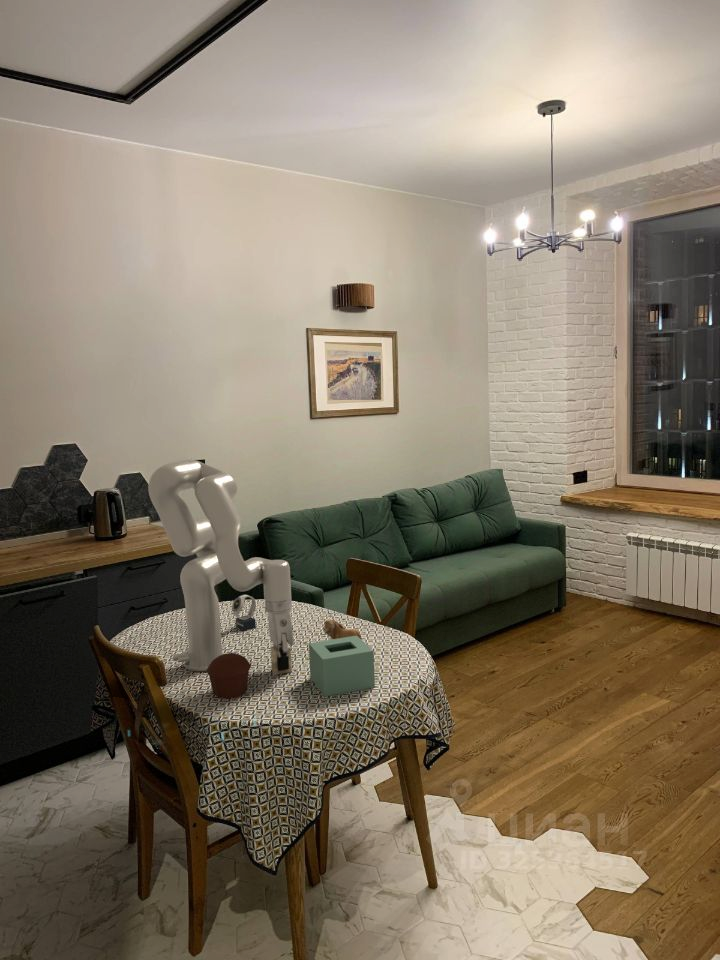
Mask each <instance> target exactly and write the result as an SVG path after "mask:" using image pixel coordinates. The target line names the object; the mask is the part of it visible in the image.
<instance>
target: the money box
mask: <svg viewBox="0 0 720 960" xmlns="http://www.w3.org/2000/svg"><path fill="white" fill-rule="evenodd" d="M374 652H375V651H374V649H372V648H371V647H370V646H369V645H368V644H367V643H366V642H365V641H363V639H362V640H361V639H360V638H359V637H358V636H351V637H345V638H339V639H327V640H322V641H321V640H320V641H315V642H310V643H308V654H309V658H308V659H309V675H310V679H311V681H312V682H313V684H314V685H315V686H316V688H317V689H318V690H319V691H320V692H321V694H322V696H323V697H328V696H336V695H340V694H341V695H342V694H345V693H351V692H356V691H361V690H367V689H372V688H375V687H376V681H375V680H376V677H375V676H376V675H375V655H374V654H375V653H374Z"/></svg>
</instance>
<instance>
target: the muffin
mask: <svg viewBox="0 0 720 960" xmlns="http://www.w3.org/2000/svg"><path fill="white" fill-rule="evenodd" d="M251 667H252V665H251V663H250V662H249V661H248V659H247V657H245V656H244V655H241V654H240V653H235V652H226V653H223V655H220V656H218V657H217V658H215V659H214V660H213V661H212V662H211V664H210V665H209V666H208V668H207V670H206V671H205V672H206V674H207V675H208V676H209V681H210V686H211V691H212V692H213V696H215V695H216V696H215V697H216V698H218V699H225V700H230V699H235V698H240V697H241V696H243V695H245V694H247V691H248V686H249V684H248V683H249V672H250V669H251Z"/></svg>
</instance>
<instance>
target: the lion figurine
mask: <svg viewBox="0 0 720 960" xmlns="http://www.w3.org/2000/svg"><path fill="white" fill-rule="evenodd" d="M323 625H324V626H323V629H322V631H323V633H324V635H327V636H329V637H330V640H332V639H339V638H345V637H351V636H358V637H359V638H360V639H361V640H362V641H363V639H362V635H361V633H360V631H359V630H357V629H356V628H355V629H354V628H352V629H350V628H349V629H348V628H346V627H344V626H343V625H342V624H341V623H339V622H338V621H336V620H335V619H331V618H330V619H326V620H324V624H323Z"/></svg>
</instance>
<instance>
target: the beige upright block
mask: <svg viewBox="0 0 720 960" xmlns="http://www.w3.org/2000/svg"><path fill="white" fill-rule="evenodd" d="M287 645H288V658H289V669H288V670H282V671H278V667H277V657H278V651H277V647H276V646H273V645H272V646H270V662H271V664H270V665H271V671H272V673H273V674H274V675H282V674H287V673H292V672H293V667H292V666H293V665H292V664H293V663H292V649H291V648H292V647H291V645H289V643H287ZM280 646H281V645H280ZM281 650H282V648H281V649H280V651H281Z"/></svg>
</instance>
